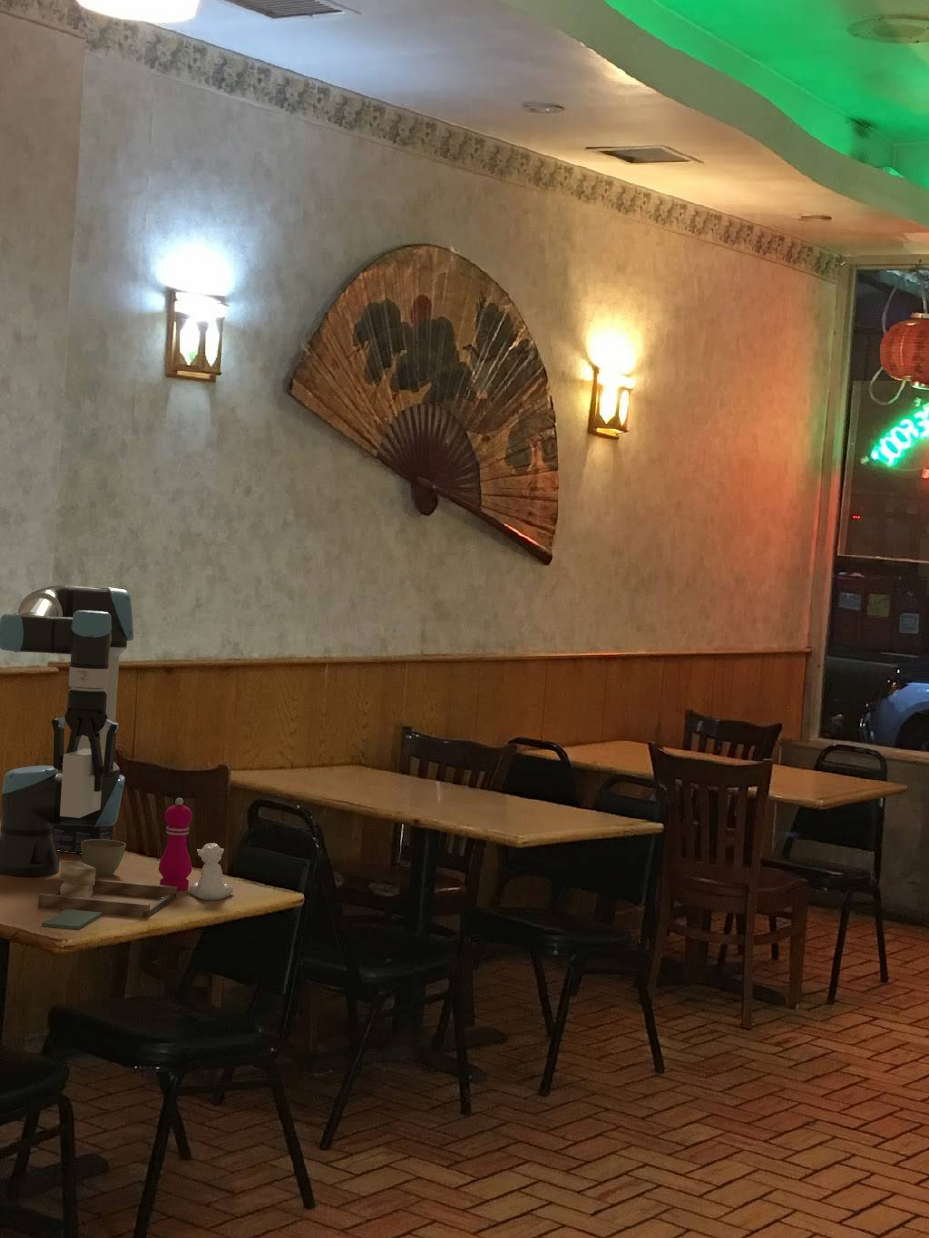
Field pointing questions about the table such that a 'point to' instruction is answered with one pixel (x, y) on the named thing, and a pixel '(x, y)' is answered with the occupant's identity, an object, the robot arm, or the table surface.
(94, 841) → the flower pot
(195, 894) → the seated beast figurine
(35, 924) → the table surface
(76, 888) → the offcut low
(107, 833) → the small box
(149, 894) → the wooden tray
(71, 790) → the block
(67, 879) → the offcut top
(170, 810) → the pepper mill
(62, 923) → the mat
